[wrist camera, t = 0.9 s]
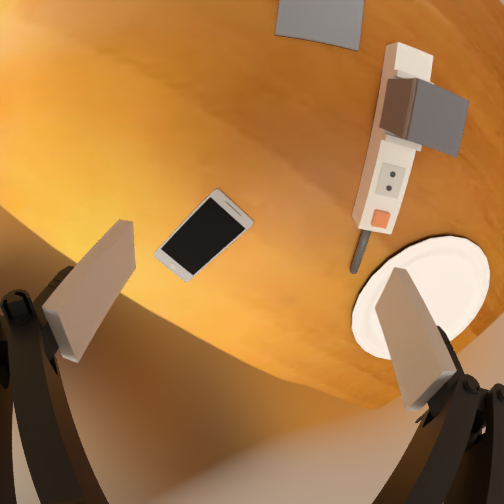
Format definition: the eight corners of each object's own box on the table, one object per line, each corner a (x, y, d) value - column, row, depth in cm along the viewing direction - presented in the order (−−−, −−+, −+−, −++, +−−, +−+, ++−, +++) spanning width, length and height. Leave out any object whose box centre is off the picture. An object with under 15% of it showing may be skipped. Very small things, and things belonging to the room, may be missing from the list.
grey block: (387, 78, 26) (418, 77, 19) (432, 94, 26) (469, 100, 19) (378, 127, 29) (406, 140, 22) (422, 141, 29) (457, 158, 22)
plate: (506, 274, 42) (510, 279, 41) (416, 366, 57) (418, 372, 55) (425, 198, 37) (430, 202, 36) (317, 329, 51) (318, 336, 50)
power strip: (385, 45, 27) (401, 40, 22) (418, 57, 27) (438, 55, 22) (336, 266, 44) (342, 288, 39) (365, 270, 44) (373, 291, 39)
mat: (283, -31, 23) (284, -32, 22) (364, -14, 22) (365, -15, 22) (275, 35, 28) (275, 34, 27) (357, 51, 28) (358, 50, 27)
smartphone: (154, 252, 45) (152, 255, 45) (217, 185, 39) (216, 187, 38) (188, 280, 48) (186, 283, 47) (255, 220, 41) (255, 223, 41)
